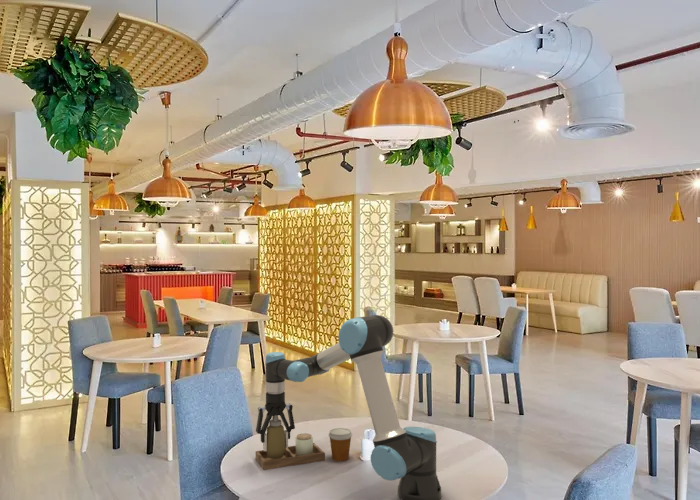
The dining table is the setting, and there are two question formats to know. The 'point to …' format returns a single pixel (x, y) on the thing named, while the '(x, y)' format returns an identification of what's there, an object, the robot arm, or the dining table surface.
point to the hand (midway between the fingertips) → (275, 448)
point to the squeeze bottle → (275, 439)
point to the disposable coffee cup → (340, 443)
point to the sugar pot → (304, 444)
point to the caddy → (289, 458)
